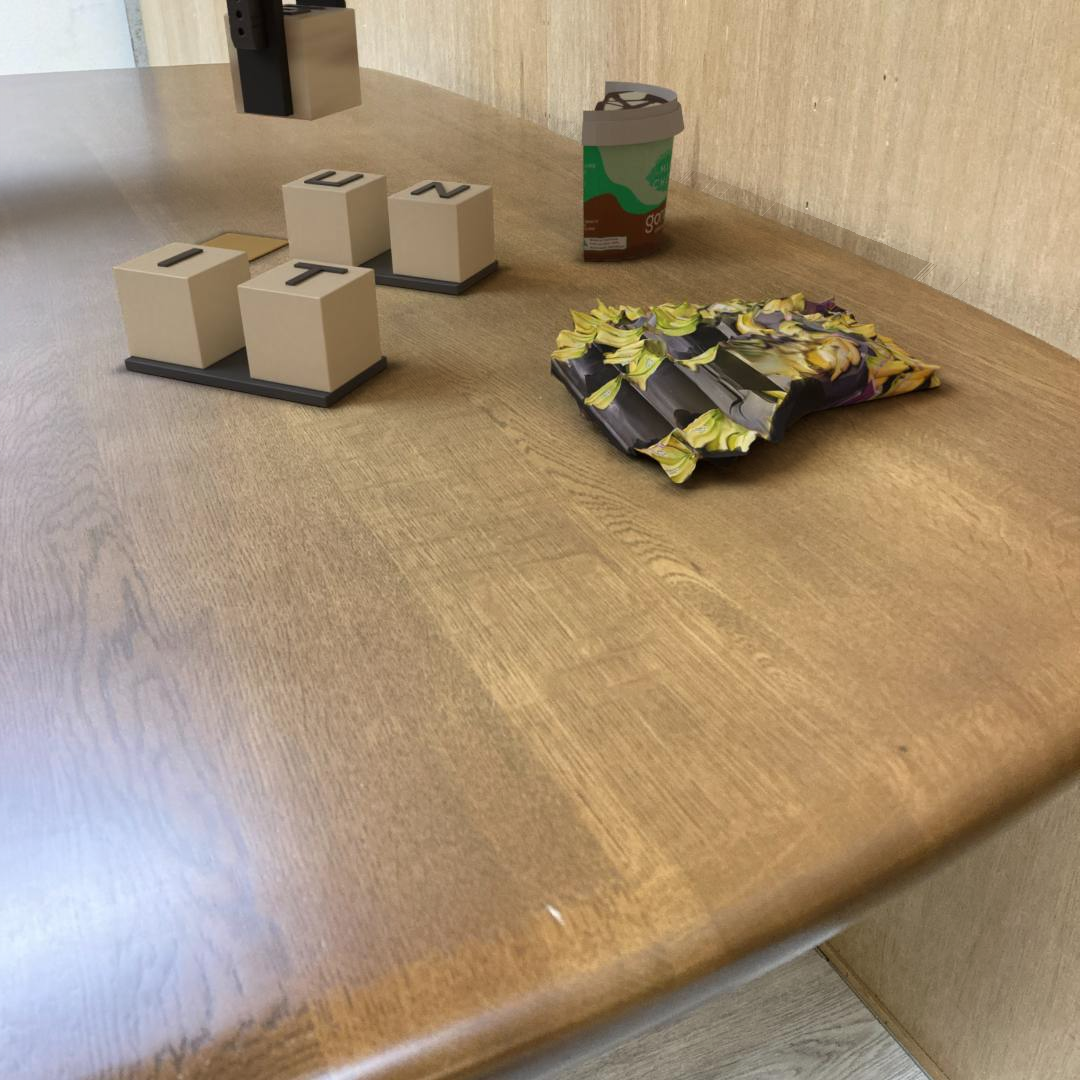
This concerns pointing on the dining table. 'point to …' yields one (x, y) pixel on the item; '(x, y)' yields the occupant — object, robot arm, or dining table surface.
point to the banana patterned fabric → (723, 373)
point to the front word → (250, 322)
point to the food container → (627, 169)
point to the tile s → (314, 61)
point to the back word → (385, 229)
